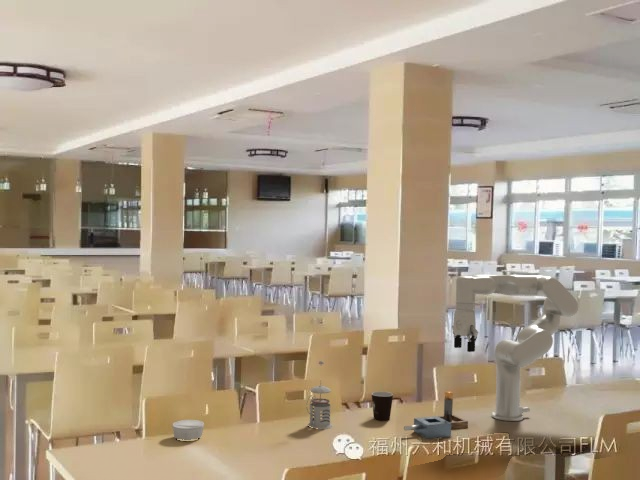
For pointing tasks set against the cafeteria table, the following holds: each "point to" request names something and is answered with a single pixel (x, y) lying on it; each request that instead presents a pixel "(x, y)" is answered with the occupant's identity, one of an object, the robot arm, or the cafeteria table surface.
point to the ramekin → (188, 429)
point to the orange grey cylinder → (448, 406)
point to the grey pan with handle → (431, 427)
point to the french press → (320, 408)
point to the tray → (457, 422)
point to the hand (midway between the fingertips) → (464, 349)
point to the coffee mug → (382, 405)
